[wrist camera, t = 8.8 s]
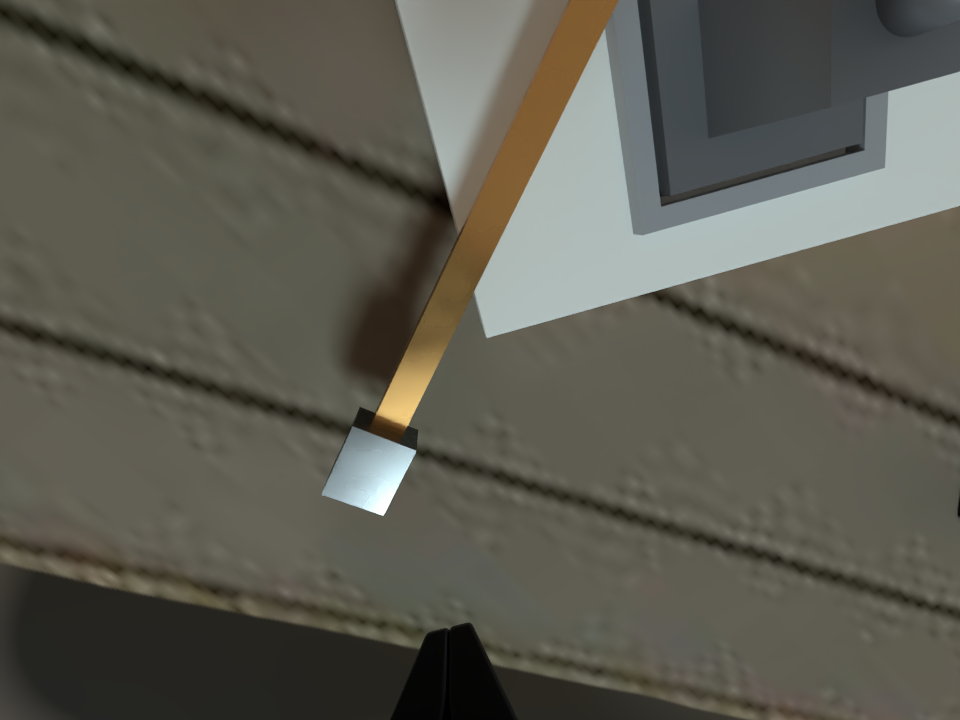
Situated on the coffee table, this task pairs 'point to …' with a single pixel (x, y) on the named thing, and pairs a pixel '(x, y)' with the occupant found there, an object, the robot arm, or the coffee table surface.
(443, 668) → the robot arm
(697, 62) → the plug
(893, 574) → the coffee table surface
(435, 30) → the power strip
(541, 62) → the golden thin rod
